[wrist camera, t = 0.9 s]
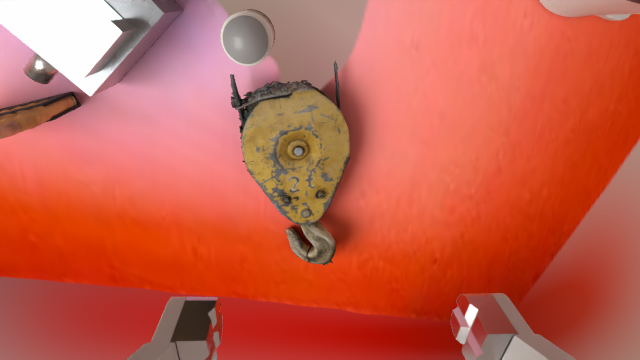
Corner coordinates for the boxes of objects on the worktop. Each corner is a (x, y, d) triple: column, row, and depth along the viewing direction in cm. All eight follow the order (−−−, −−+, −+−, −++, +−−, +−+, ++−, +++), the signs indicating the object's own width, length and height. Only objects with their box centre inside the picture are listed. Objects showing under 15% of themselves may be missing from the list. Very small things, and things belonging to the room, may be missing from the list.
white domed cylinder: (252, -2, 36) (244, -1, 31) (283, 36, 38) (281, 43, 33) (221, 31, 38) (208, 37, 32) (253, 66, 40) (246, 77, 34)
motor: (90, -89, 32) (22, -115, 24) (183, 10, 36) (151, 15, 28) (6, 29, 36) (-75, 40, 28) (98, 104, 41) (50, 131, 33)
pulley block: (268, 288, 49) (220, 81, 34) (265, 261, 54) (222, 71, 39) (360, 267, 51) (352, 64, 36) (349, 243, 56) (338, 56, 41)
